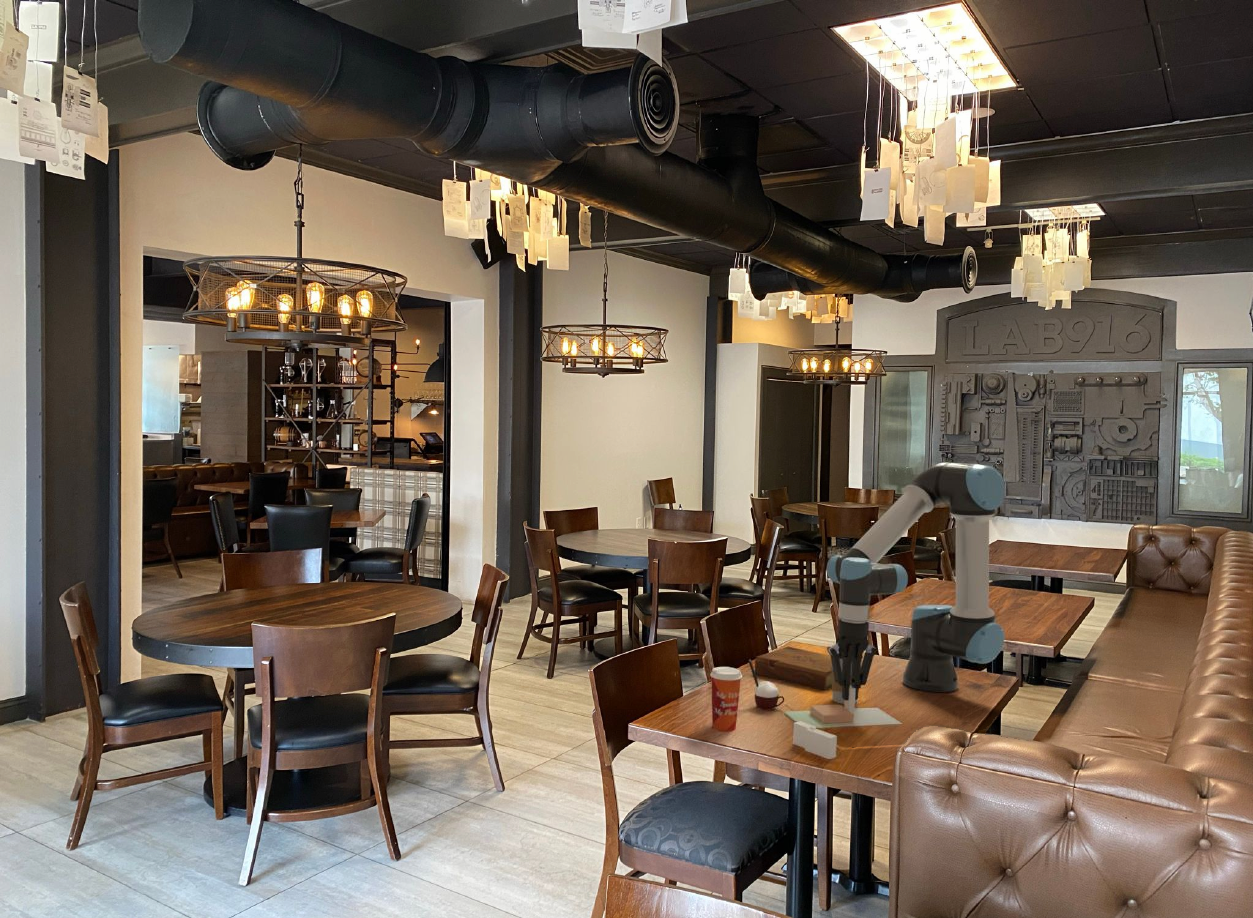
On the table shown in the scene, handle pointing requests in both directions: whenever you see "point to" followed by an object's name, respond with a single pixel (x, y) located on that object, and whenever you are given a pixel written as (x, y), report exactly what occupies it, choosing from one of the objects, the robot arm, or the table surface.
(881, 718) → the mat
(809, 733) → the white stepped block
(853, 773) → the table surface
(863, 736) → the table surface
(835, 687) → the coffee cup
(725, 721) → the paper cup
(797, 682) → the diary
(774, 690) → the cocoa
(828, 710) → the tile
